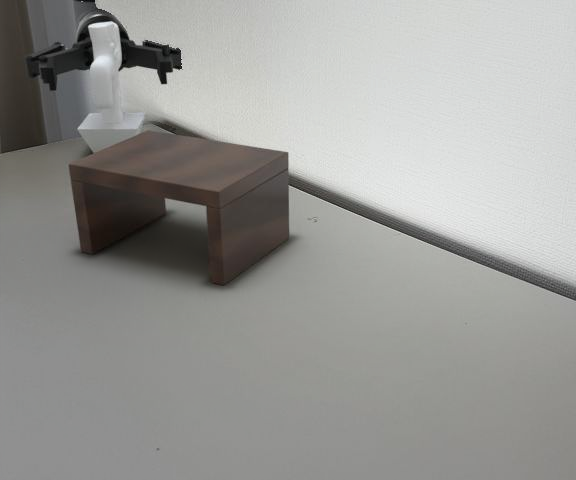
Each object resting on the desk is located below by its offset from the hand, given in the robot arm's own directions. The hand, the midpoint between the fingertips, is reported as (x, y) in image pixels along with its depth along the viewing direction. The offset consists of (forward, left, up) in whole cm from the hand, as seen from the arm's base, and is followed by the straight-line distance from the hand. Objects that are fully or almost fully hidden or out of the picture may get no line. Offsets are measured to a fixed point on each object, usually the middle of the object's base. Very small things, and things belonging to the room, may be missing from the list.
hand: (108, 76), depth 107 cm
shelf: (+27, -23, -8) cm, 36 cm away
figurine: (+2, -2, -9) cm, 9 cm away
